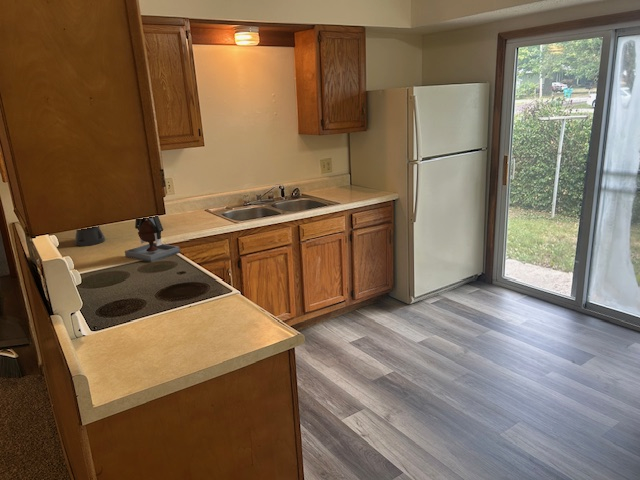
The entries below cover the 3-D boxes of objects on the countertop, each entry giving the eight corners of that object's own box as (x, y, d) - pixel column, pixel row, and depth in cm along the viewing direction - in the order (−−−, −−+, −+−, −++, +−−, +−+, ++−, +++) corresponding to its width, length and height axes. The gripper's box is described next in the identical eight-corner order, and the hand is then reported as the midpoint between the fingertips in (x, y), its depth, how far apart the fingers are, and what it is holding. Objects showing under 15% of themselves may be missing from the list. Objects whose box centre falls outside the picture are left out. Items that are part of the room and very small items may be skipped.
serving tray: (125, 256, 235) (124, 251, 235) (154, 247, 249) (153, 242, 248) (151, 262, 224) (150, 256, 224) (180, 252, 238) (179, 246, 237)
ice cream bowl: (136, 253, 232) (131, 223, 228) (148, 246, 242) (144, 217, 239) (156, 253, 230) (151, 223, 226) (167, 246, 240) (163, 217, 236)
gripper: (122, 200, 233) (130, 243, 239) (153, 203, 220) (160, 248, 226) (136, 197, 239) (142, 239, 245) (167, 200, 226) (173, 244, 232)
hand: (151, 244), depth 235 cm, fingers closed on ice cream bowl, 11 cm apart
